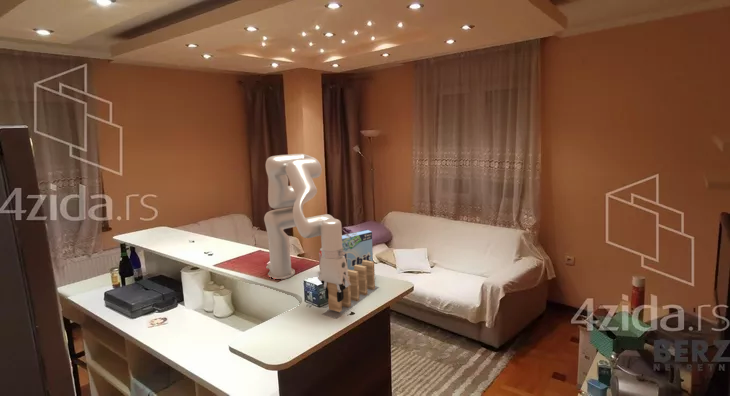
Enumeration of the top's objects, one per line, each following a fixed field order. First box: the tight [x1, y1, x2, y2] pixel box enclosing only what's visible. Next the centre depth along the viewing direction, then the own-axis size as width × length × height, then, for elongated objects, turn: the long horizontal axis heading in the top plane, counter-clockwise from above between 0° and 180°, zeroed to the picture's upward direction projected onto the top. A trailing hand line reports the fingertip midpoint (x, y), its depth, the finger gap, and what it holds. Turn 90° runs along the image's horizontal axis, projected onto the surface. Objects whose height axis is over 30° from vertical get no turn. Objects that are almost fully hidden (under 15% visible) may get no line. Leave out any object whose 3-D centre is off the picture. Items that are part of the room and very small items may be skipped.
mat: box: [321, 285, 380, 320], centre depth 160 cm, size 31×7×1 cm, turn 147°
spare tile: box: [327, 282, 342, 312], centre depth 149 cm, size 2×5×12 cm, turn 57°
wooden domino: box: [362, 260, 376, 290], centre depth 169 cm, size 2×5×12 cm, turn 57°
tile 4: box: [354, 264, 367, 295], centre depth 164 cm, size 2×5×12 cm, turn 57°
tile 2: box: [341, 277, 351, 308], centre depth 154 cm, size 2×5×12 cm, turn 58°
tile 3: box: [348, 269, 360, 301], centre depth 159 cm, size 2×5×12 cm, turn 58°
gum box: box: [342, 229, 374, 270], centre depth 174 cm, size 20×5×23 cm, turn 123°
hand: (334, 298), depth 150 cm, fingers closed on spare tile, 4 cm apart
